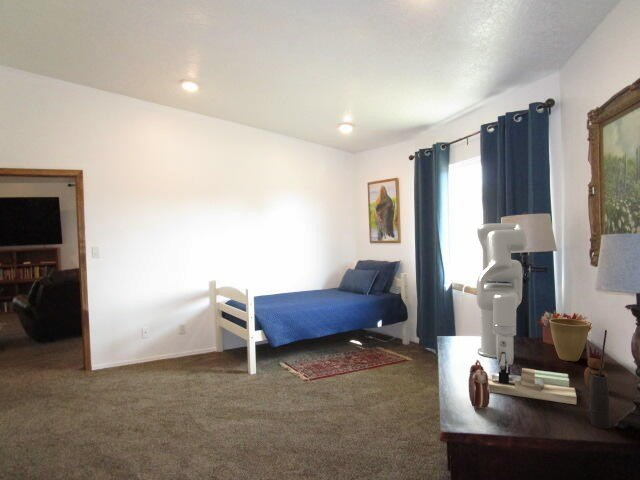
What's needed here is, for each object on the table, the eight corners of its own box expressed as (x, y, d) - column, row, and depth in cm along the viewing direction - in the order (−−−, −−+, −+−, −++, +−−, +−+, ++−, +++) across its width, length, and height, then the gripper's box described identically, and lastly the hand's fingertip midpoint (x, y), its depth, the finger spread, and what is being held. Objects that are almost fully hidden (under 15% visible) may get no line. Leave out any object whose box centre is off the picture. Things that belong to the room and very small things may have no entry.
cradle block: (533, 382, 159) (533, 369, 159) (567, 386, 154) (567, 374, 154) (533, 388, 153) (533, 376, 153) (569, 393, 148) (569, 380, 148)
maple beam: (485, 382, 159) (485, 363, 159) (574, 395, 147) (574, 374, 146) (483, 390, 152) (483, 370, 151) (576, 404, 139) (576, 382, 139)
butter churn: (569, 418, 129) (570, 324, 128) (596, 415, 131) (597, 322, 130) (595, 432, 120) (596, 332, 119) (623, 428, 122) (625, 330, 122)
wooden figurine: (580, 387, 153) (581, 345, 153) (591, 385, 156) (592, 343, 155) (599, 394, 147) (600, 350, 147) (610, 391, 149) (611, 348, 149)
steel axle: (492, 382, 153) (492, 374, 152) (492, 379, 155) (492, 371, 155) (543, 389, 146) (543, 381, 145) (543, 386, 148) (543, 377, 148)
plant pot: (595, 364, 178) (596, 326, 177) (556, 363, 180) (557, 325, 180) (580, 354, 192) (580, 318, 192) (544, 353, 195) (544, 317, 194)
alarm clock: (490, 416, 132) (490, 366, 131) (473, 415, 132) (473, 366, 132) (483, 401, 142) (483, 356, 142) (467, 400, 143) (467, 355, 143)
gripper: (515, 336, 142) (515, 390, 143) (517, 325, 158) (517, 374, 158) (490, 333, 146) (490, 387, 146) (495, 323, 161) (494, 371, 162)
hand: (504, 379), depth 152 cm, fingers open, 6 cm apart
